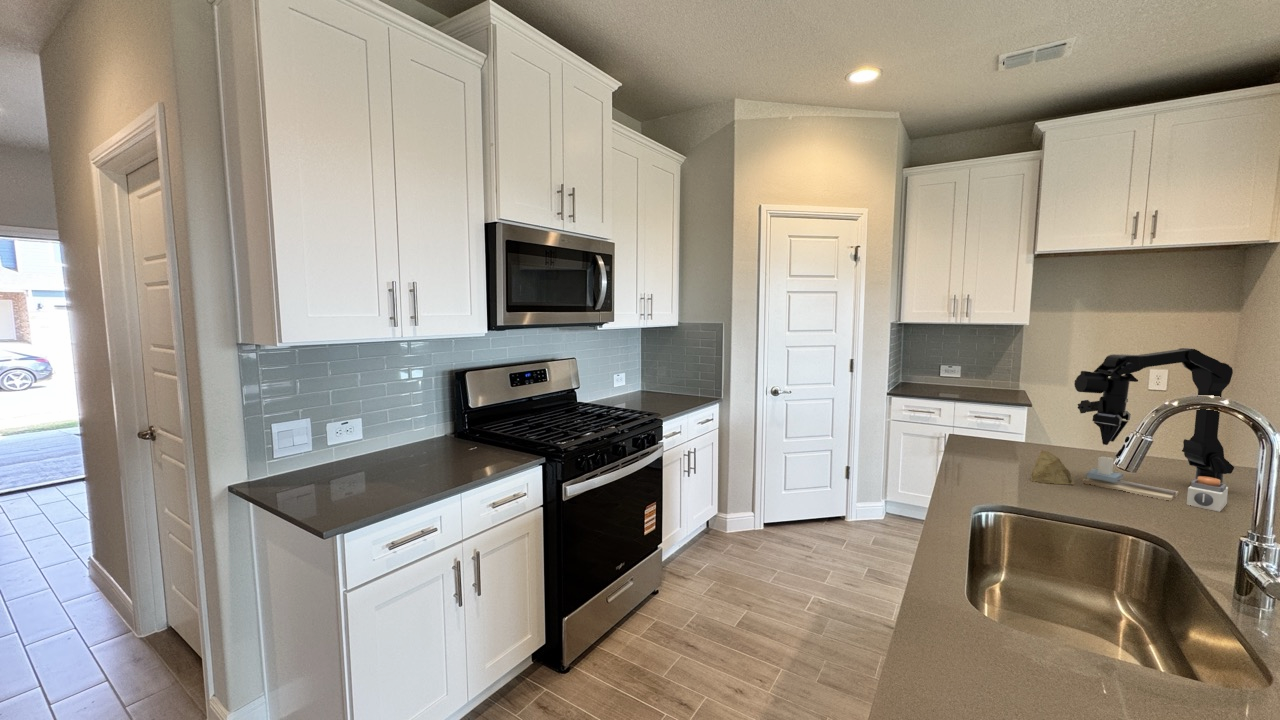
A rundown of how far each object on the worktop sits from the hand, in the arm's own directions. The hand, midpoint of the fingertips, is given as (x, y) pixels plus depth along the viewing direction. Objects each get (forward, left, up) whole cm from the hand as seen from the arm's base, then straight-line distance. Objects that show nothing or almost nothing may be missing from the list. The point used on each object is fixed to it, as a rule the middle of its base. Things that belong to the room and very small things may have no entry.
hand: (1108, 443), depth 165 cm
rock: (+11, -10, -14) cm, 21 cm away
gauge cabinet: (-1, +22, -14) cm, 26 cm away
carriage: (-1, 0, -11) cm, 11 cm away
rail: (-1, +6, -14) cm, 15 cm away
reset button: (-1, +22, -7) cm, 23 cm away
